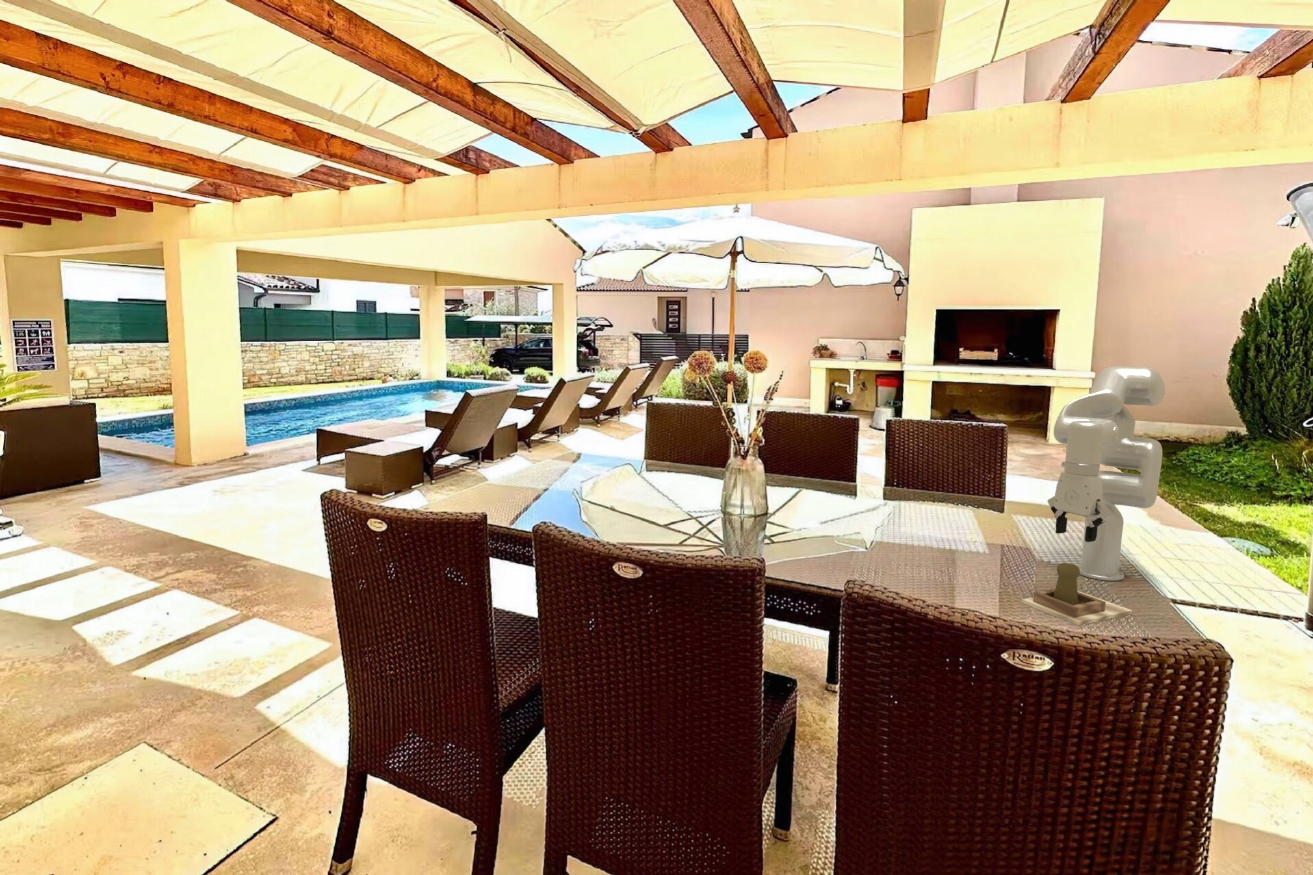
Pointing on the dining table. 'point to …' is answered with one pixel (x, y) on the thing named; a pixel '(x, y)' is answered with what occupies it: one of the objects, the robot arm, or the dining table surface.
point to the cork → (1067, 583)
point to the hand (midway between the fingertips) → (1075, 536)
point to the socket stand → (1076, 607)
